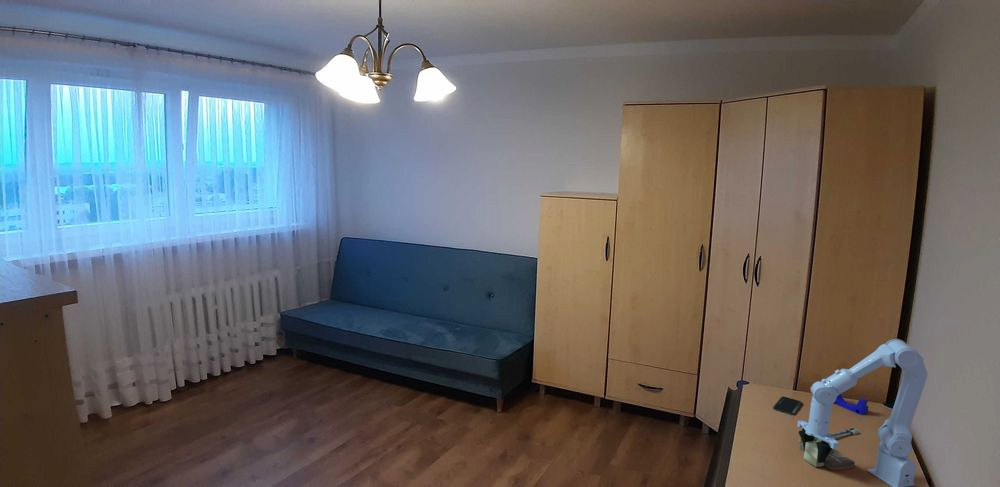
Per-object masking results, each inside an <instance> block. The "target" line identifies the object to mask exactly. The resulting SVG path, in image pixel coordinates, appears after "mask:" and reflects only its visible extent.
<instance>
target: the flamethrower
mask: <svg viewBox="0 0 1000 487" xmlns="http://www.w3.org/2000/svg"><path fill="white" fill-rule="evenodd" d="M829 434H830V435H831V436H832V437H833V438H834V439H835V440H836V441H837V439H838V438H842V437H845V436H849V435H851V436H852V435H853V436H854V435H858V434H859V430H858V429H856V428H853V427H852V428H848V429H844V430H841V431H837V432H834V433H829ZM817 441H822V440H820V439H819V438H816V437H815V439H814V442H817ZM798 442H799V443H802V439H801V438H798ZM837 442H838V441H837Z"/></svg>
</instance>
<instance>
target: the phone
mask: <svg viewBox="0 0 1000 487" xmlns="http://www.w3.org/2000/svg"><path fill="white" fill-rule="evenodd" d="M802 406H803V401H801V400H797V399H794V398H792V397H787V396H781V397H780V398H779V400H777V402H776V403H775V404H774V405H773V406H772V409H773V410H774V411H776V412H780V413H783V414H786V415H790V416H795V415H796V414H797V412H798V411H799V409H800V408H801V407H802Z"/></svg>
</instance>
